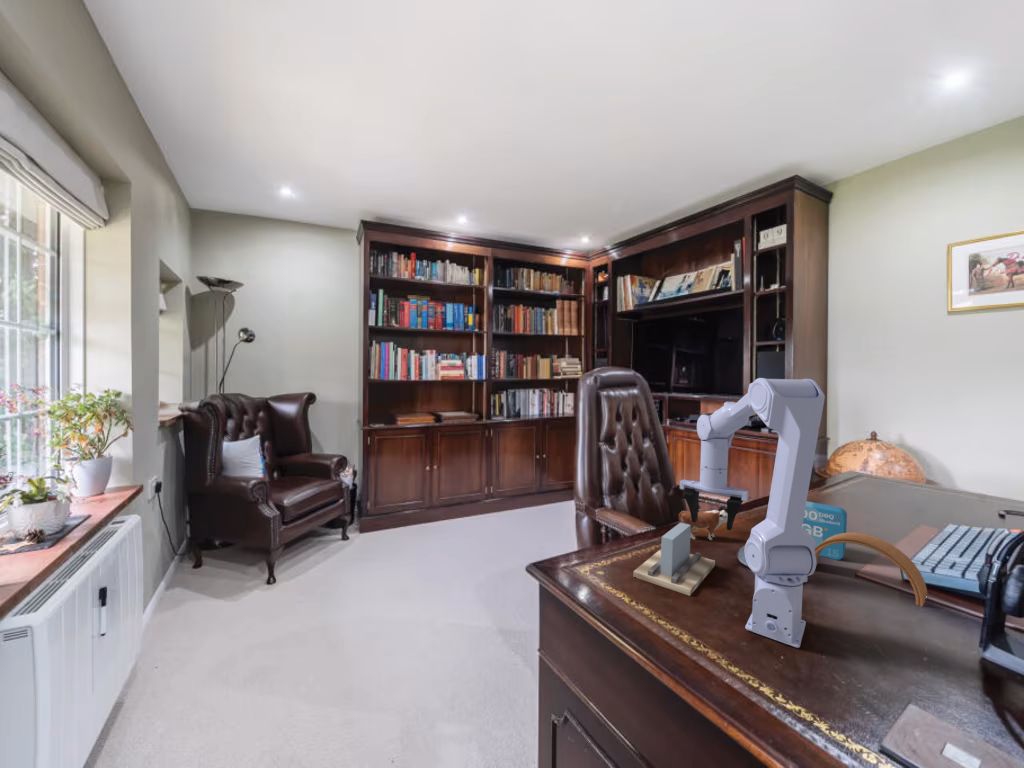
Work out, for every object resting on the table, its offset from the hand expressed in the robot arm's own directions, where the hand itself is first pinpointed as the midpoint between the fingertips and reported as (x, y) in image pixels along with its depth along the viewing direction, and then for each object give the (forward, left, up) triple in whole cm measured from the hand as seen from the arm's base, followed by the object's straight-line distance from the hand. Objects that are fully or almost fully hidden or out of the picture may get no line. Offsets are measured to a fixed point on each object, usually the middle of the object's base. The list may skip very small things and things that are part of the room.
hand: (711, 524), depth 101 cm
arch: (+13, -27, -10) cm, 32 cm away
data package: (+26, -18, -10) cm, 33 cm away
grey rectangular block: (-9, +5, -8) cm, 13 cm away
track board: (-9, +5, -9) cm, 14 cm away
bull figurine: (+16, +6, -10) cm, 20 cm away
